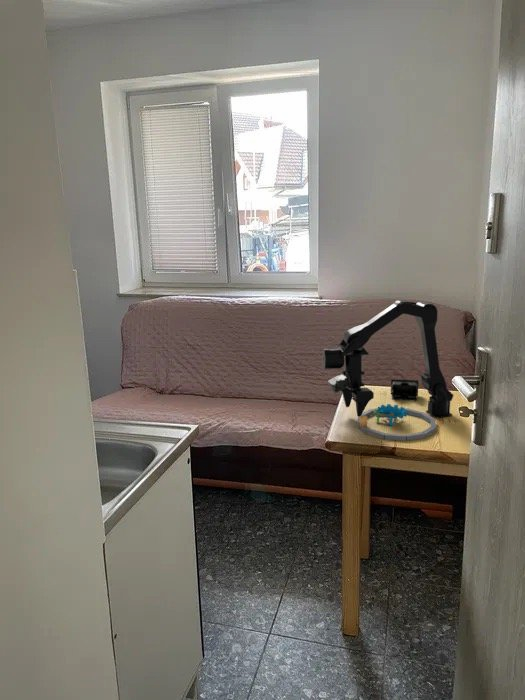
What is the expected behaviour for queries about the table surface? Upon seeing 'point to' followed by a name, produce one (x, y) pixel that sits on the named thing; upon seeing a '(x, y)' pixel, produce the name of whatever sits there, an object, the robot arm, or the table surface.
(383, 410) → the blue spiky figure
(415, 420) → the table surface
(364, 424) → the ring
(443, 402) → the robot arm
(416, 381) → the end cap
